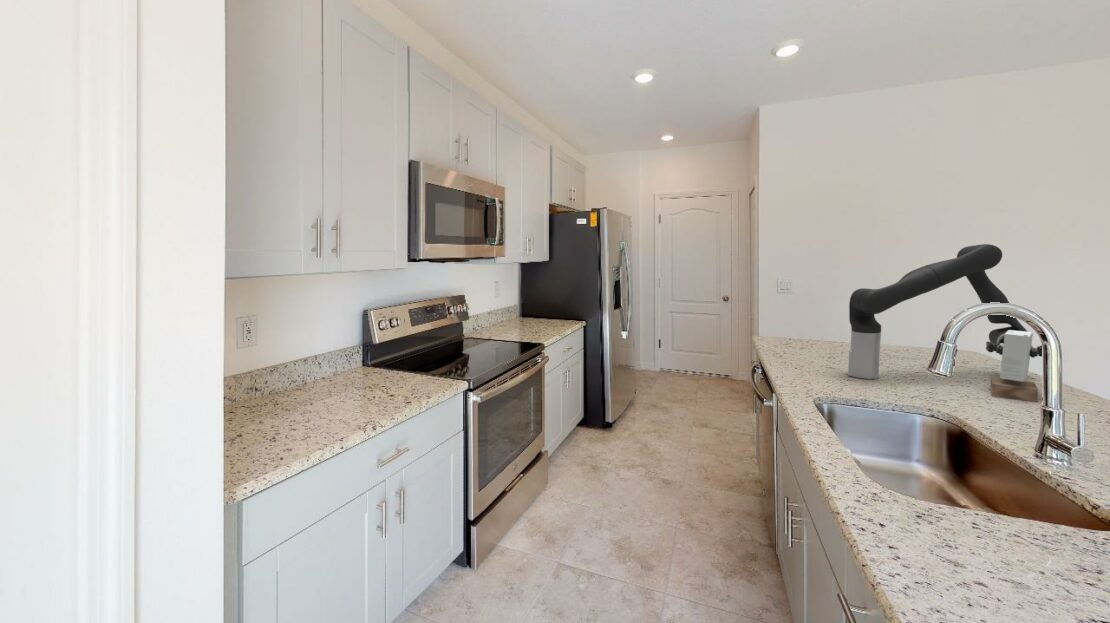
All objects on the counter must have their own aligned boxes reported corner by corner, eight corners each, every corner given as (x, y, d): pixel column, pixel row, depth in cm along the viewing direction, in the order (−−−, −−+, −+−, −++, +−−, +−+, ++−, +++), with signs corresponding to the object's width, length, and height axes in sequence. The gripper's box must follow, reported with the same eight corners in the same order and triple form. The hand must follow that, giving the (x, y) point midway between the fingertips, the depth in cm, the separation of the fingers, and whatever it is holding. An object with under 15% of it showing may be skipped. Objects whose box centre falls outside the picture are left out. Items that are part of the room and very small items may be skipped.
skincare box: (1003, 373, 151) (1006, 329, 149) (1029, 377, 146) (1033, 331, 144) (999, 378, 145) (1003, 333, 143) (1026, 382, 141) (1030, 335, 139)
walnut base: (991, 396, 146) (992, 383, 145) (990, 388, 153) (991, 377, 153) (1036, 402, 139) (1038, 389, 139) (1032, 394, 147) (1033, 382, 146)
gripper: (984, 331, 159) (986, 339, 147) (1044, 335, 150) (1052, 343, 138) (982, 352, 160) (984, 361, 148) (1042, 357, 151) (1049, 367, 138)
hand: (1017, 353), depth 143 cm, fingers closed on skincare box, 6 cm apart
